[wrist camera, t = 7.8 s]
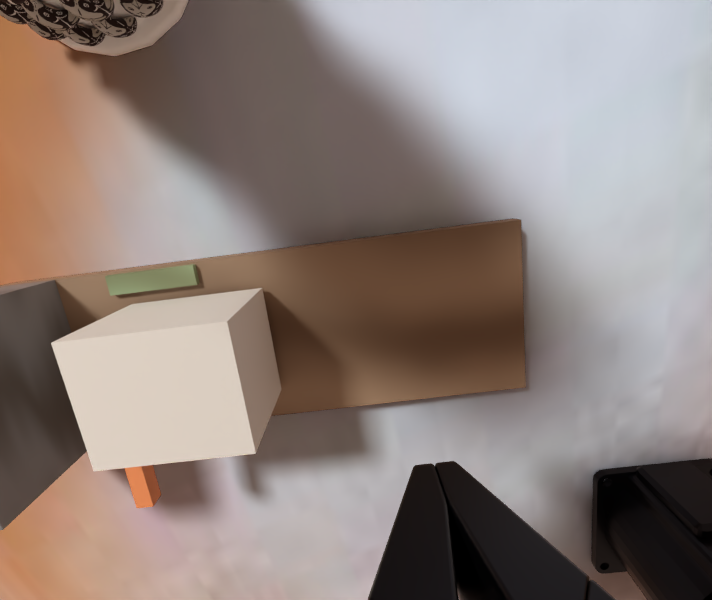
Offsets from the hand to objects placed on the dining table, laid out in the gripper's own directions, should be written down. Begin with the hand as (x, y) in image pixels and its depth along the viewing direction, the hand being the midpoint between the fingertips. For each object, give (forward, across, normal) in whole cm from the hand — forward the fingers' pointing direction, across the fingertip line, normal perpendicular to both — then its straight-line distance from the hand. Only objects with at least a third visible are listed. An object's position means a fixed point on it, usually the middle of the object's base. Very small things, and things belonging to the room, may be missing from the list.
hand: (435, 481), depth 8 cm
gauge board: (+12, +6, 0) cm, 13 cm away
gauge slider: (+11, +9, +2) cm, 14 cm away
